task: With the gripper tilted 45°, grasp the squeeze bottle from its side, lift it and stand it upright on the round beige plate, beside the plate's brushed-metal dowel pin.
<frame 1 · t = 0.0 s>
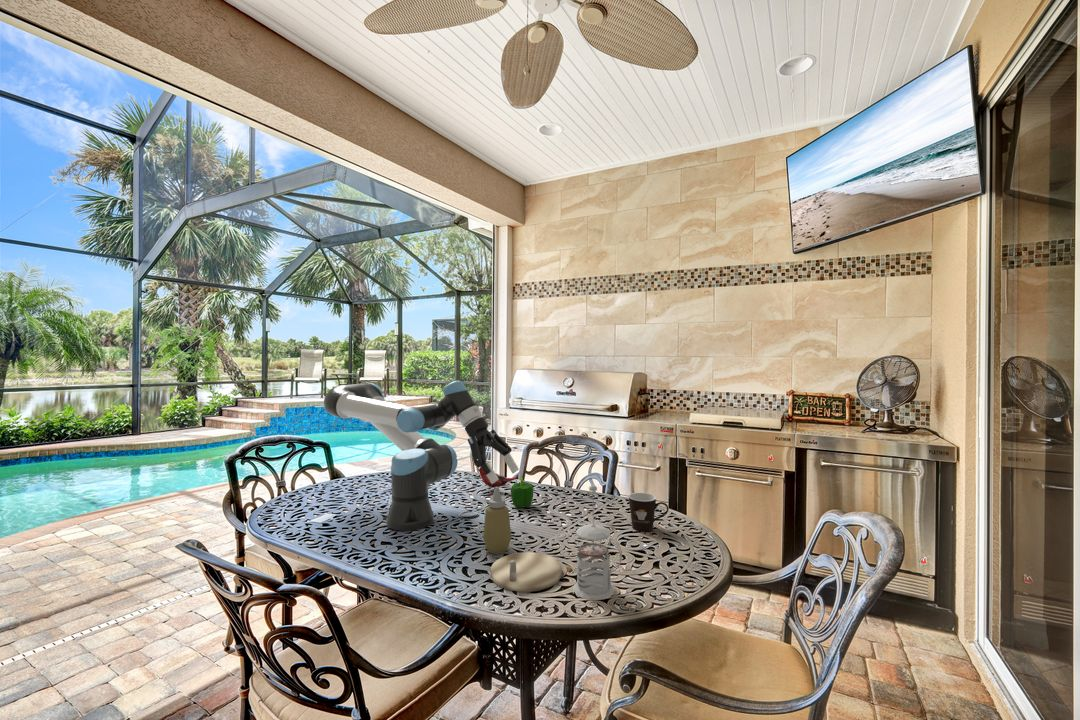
hand: (506, 476, 155), 15 cm above the table, tool tilted 35°, fingers open, 13 cm apart
coffee mug: (646, 529, 149), on the table
squeeze bottle: (497, 550, 135), on the table
round beige plate: (526, 573, 121), on the table
bell pepper: (522, 506, 172), on the table
decorative bird figurine: (497, 492, 189), on the table
french press: (597, 590, 112), on the table
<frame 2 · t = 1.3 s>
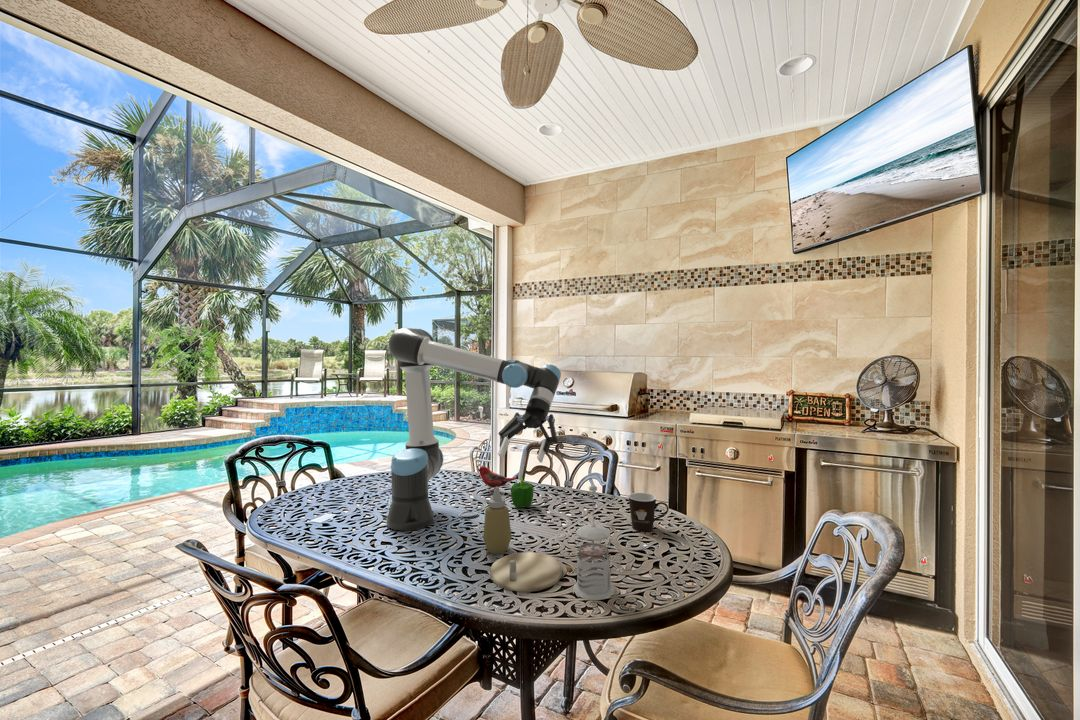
hand: (519, 458, 146), 24 cm above the table, tool tilted 45°, fingers open, 13 cm apart
nothing on the table moved.
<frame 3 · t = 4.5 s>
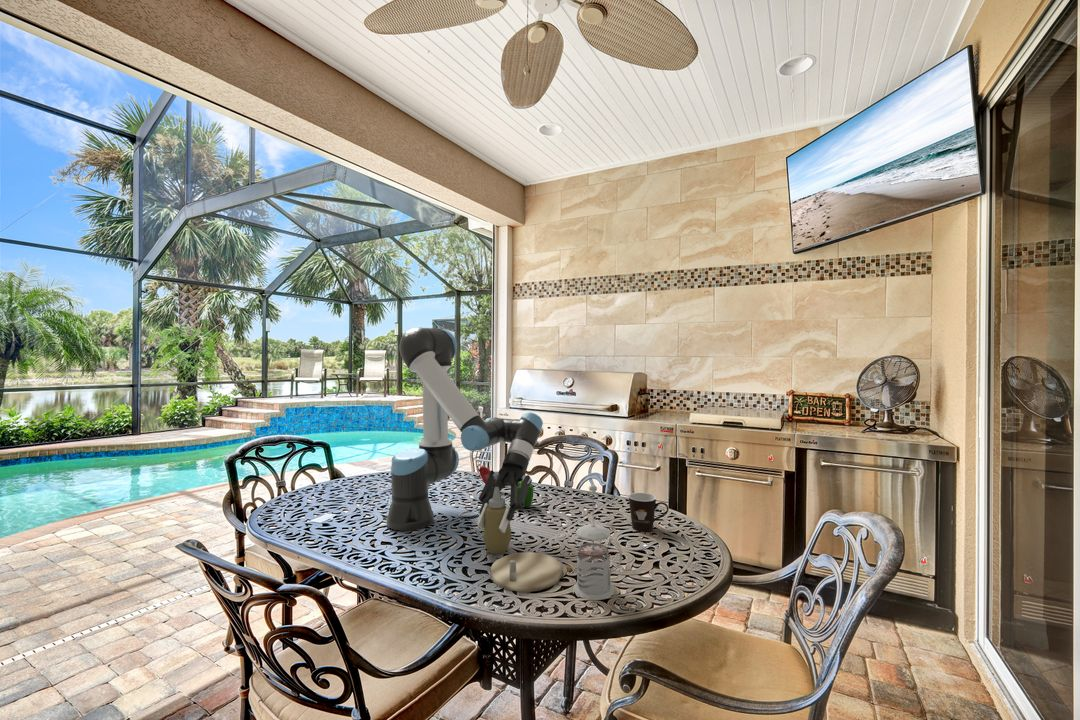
hand: (490, 528, 131), 7 cm above the table, tool tilted 45°, fingers closed on squeeze bottle, 6 cm apart
squeeze bottle: (497, 550, 135), on the table, touching gripper
everything else where it was.
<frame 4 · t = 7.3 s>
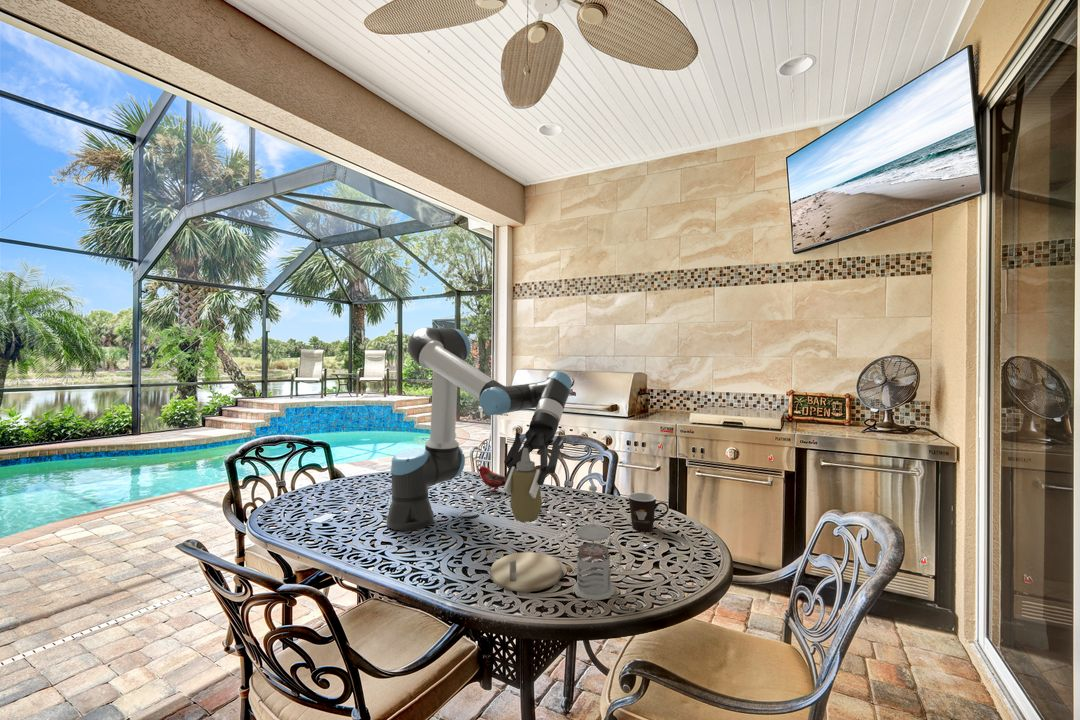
hand: (519, 493, 117), 22 cm above the table, tool tilted 45°, fingers closed on squeeze bottle, 6 cm apart
squeeze bottle: (526, 519, 121), point 14 cm above the table, touching gripper
everything else where it was.
when the fingers open (10 cm above the table, at t = 10.2 s): squeeze bottle drops 1 cm, resting on round beige plate.
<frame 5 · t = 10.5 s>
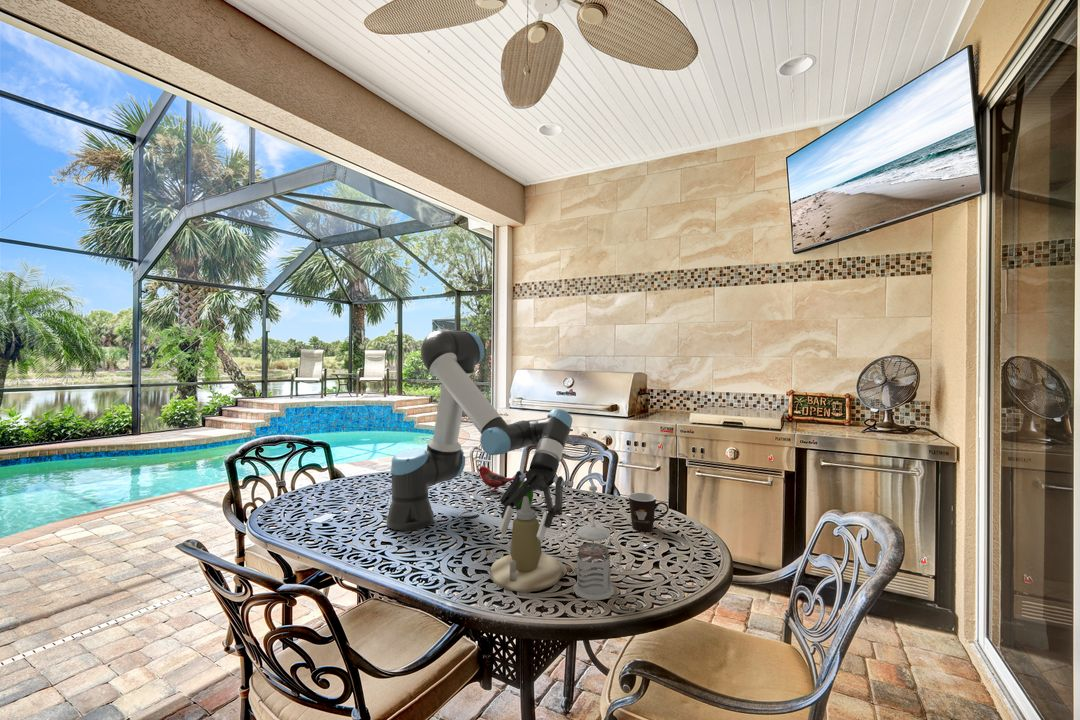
hand: (520, 535, 118), 11 cm above the table, tool tilted 45°, fingers open, 10 cm apart
squeeze bottle: (525, 567, 121), point 1 cm above the table, touching round beige plate
everything else where it was.
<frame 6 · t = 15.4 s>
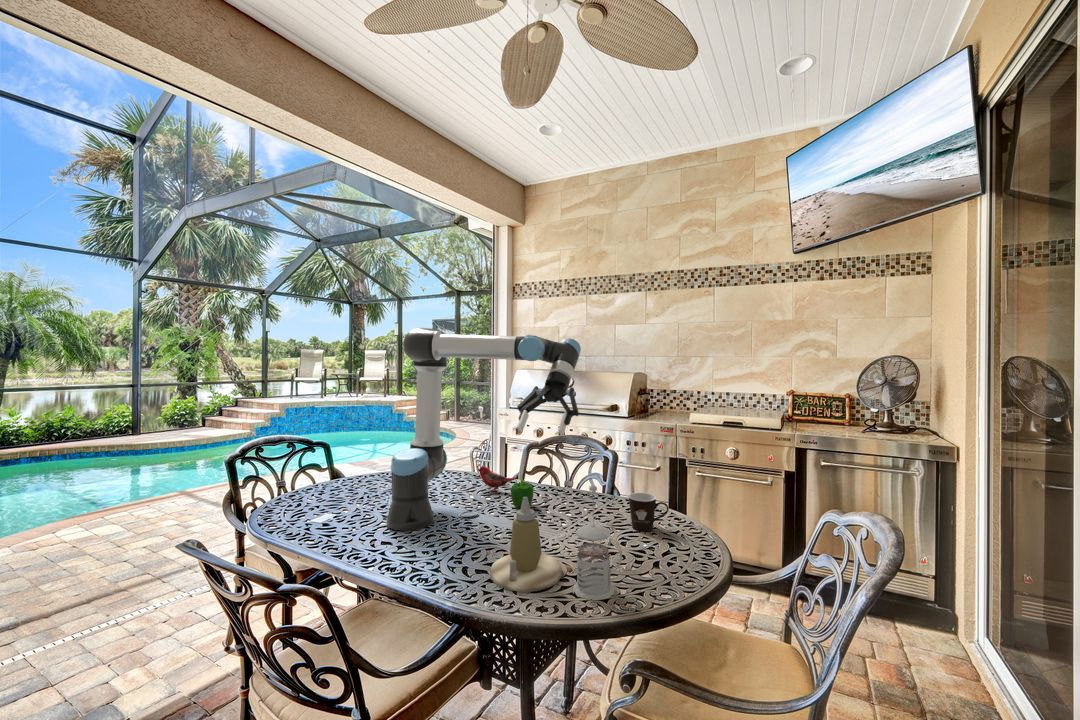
hand: (539, 431, 141), 33 cm above the table, tool tilted 45°, fingers open, 13 cm apart
nothing on the table moved.
at the end: squeeze bottle 0.2 cm off-centre on the round beige plate, point 1.3 cm above the round beige plate's base; squeeze bottle tilted 0°; the gripper is holding nothing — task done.
